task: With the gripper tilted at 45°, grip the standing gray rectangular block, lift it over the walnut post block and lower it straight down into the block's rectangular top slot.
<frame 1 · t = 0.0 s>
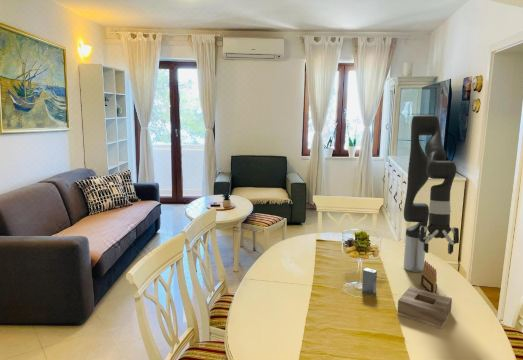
hand: (437, 253, 150), 22 cm above the table, tool pointing down, fingers open, 8 cm apart
gray rectangular block: (369, 291, 166), on the table
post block: (424, 313, 148), on the table
ammunition clip: (428, 290, 167), on the table
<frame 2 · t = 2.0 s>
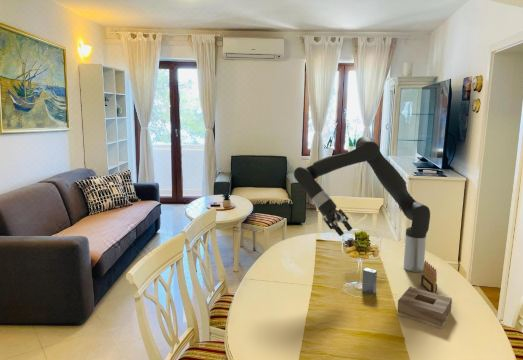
hand: (346, 232, 168), 25 cm above the table, tool tilted 45°, fingers open, 8 cm apart
nothing on the table moved.
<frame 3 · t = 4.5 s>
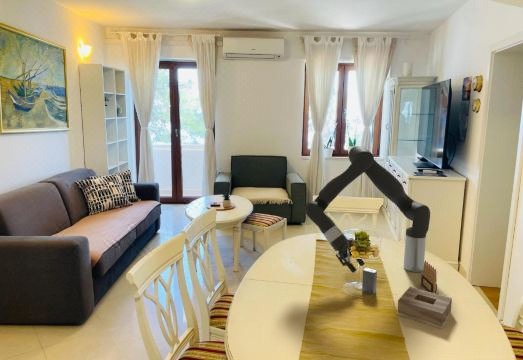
hand: (359, 268, 167), 9 cm above the table, tool tilted 45°, fingers open, 8 cm apart
nothing on the table moved.
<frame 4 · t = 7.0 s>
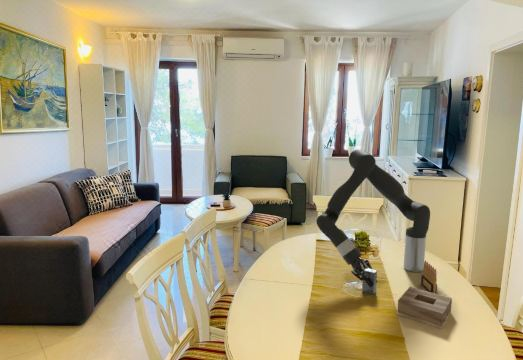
hand: (373, 284, 164), 4 cm above the table, tool tilted 45°, fingers closed on gray rectangular block, 3 cm apart
gray rectangular block: (369, 291, 166), on the table, touching gripper
everything else where it was.
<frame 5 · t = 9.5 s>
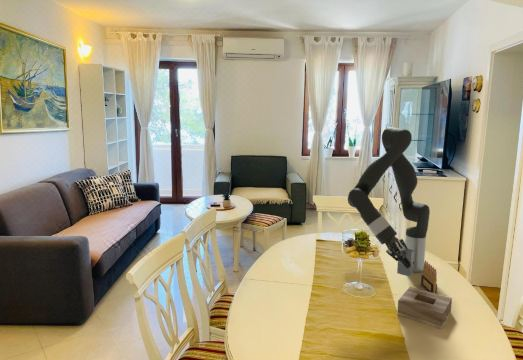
hand: (410, 265, 150), 18 cm above the table, tool tilted 45°, fingers closed on gray rectangular block, 3 cm apart
gray rectangular block: (404, 273, 152), point 14 cm above the table, touching gripper
everything else where it was.
when the fingers open (7 cm above the table, at t = 12.3 s): gray rectangular block drops 2 cm, resting on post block.
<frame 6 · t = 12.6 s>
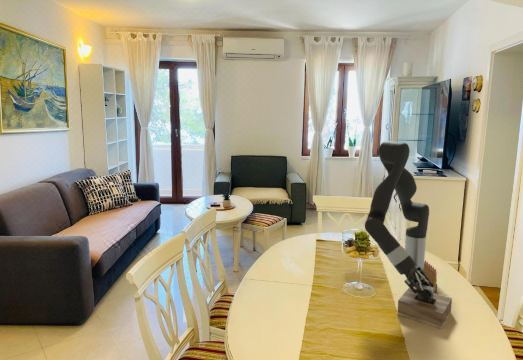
hand: (430, 296, 146), 8 cm above the table, tool tilted 45°, fingers open, 6 cm apart
gray rectangular block: (424, 311, 148), point 1 cm above the table, touching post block
everything else where it was.
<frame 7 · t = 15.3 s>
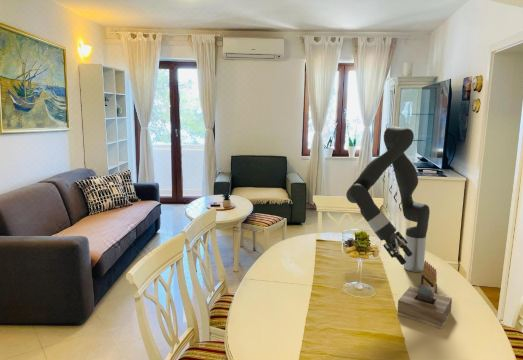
hand: (407, 259, 151), 19 cm above the table, tool tilted 40°, fingers open, 8 cm apart
nothing on the table moved.
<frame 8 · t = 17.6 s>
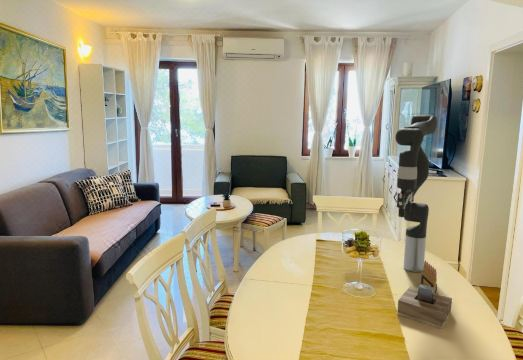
hand: (404, 214, 161), 34 cm above the table, tool pointing down, fingers open, 8 cm apart
nothing on the table moved.
at the end: gray rectangular block 0.2 cm off-centre on the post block, point 1.0 cm above the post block's base; gray rectangular block tilted 0°; the gripper is holding nothing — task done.
